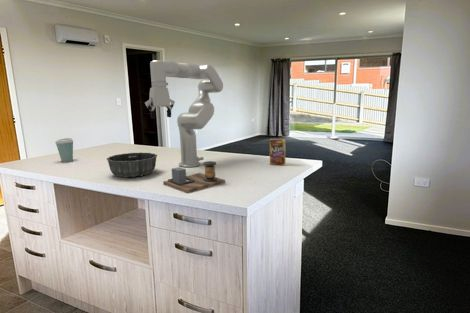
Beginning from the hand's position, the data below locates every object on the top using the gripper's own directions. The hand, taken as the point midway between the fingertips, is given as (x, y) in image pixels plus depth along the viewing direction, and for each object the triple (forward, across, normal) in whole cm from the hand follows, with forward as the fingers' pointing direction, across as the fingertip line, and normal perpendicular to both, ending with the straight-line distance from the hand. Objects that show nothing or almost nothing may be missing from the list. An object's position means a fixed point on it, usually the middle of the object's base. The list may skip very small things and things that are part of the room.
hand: (161, 117), depth 172 cm
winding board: (+30, +2, +30) cm, 43 cm away
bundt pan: (+31, +13, -11) cm, 35 cm away
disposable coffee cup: (+31, +28, -78) cm, 88 cm away
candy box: (+31, -56, +34) cm, 72 cm away
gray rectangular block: (+29, +8, +26) cm, 39 cm away
